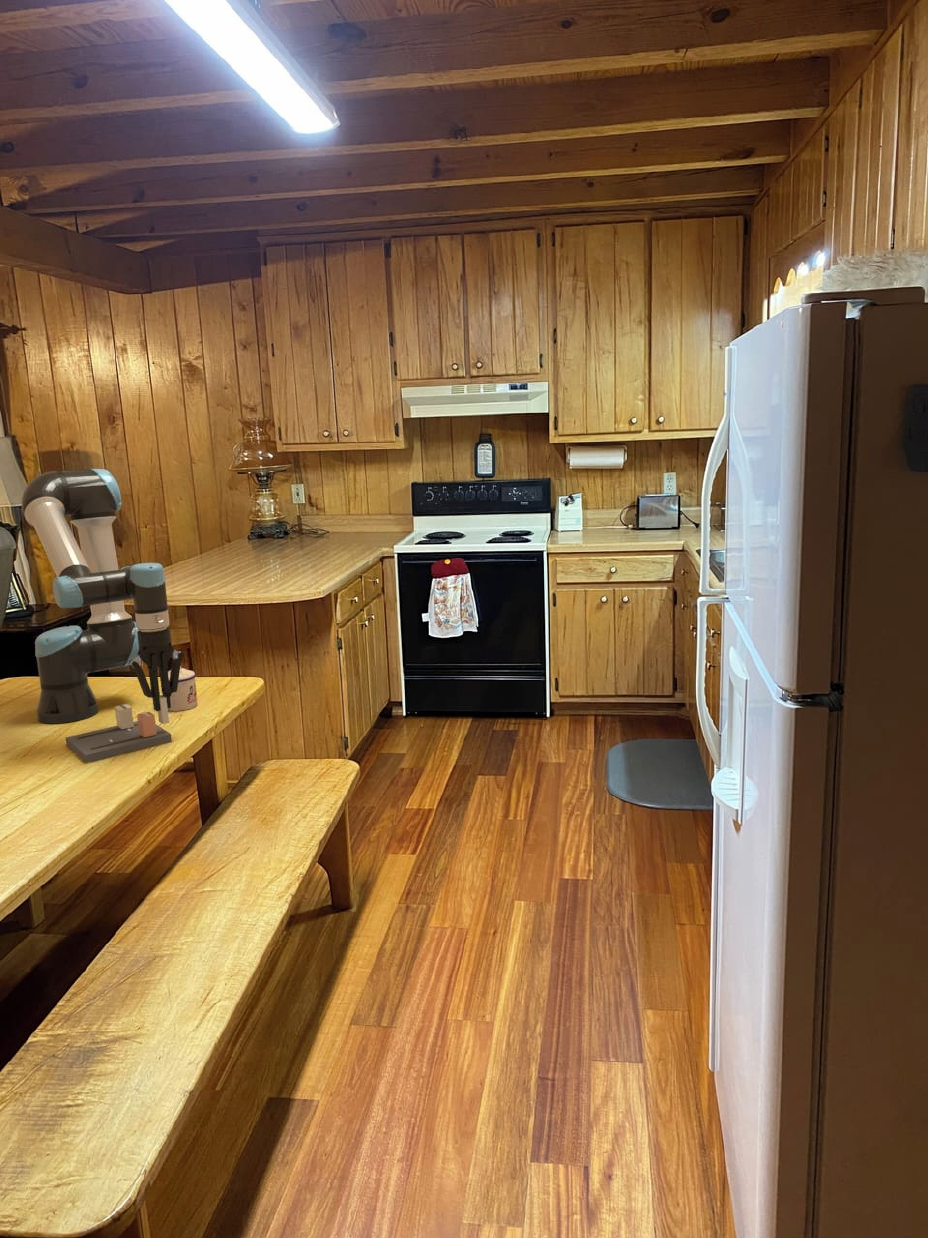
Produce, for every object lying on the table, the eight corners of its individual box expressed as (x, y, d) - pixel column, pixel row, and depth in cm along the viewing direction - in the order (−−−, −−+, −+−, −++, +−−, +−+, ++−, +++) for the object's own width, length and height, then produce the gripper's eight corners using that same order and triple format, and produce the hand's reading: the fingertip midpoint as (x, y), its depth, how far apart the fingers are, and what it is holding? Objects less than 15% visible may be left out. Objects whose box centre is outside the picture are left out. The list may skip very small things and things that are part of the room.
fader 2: (139, 733, 217) (136, 713, 216) (151, 731, 219) (149, 710, 218) (144, 737, 215) (142, 717, 214) (156, 734, 217) (154, 714, 215)
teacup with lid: (195, 710, 241) (191, 669, 239) (160, 713, 240) (156, 671, 238) (202, 697, 253) (198, 657, 251) (169, 699, 252) (165, 659, 250)
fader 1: (116, 726, 224) (114, 706, 223) (129, 723, 226) (126, 703, 225) (121, 729, 221) (119, 709, 220) (134, 726, 223) (131, 706, 222)
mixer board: (66, 745, 218) (65, 737, 218) (148, 726, 230) (147, 718, 230) (86, 763, 206) (85, 754, 205) (171, 741, 218) (170, 733, 218)
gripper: (131, 635, 207) (143, 732, 212) (186, 626, 215) (195, 719, 220) (120, 630, 213) (131, 724, 218) (173, 621, 221) (183, 712, 226)
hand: (164, 722), depth 219 cm, fingers closed
